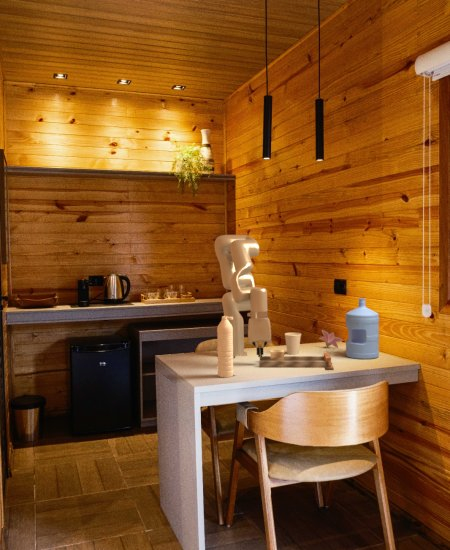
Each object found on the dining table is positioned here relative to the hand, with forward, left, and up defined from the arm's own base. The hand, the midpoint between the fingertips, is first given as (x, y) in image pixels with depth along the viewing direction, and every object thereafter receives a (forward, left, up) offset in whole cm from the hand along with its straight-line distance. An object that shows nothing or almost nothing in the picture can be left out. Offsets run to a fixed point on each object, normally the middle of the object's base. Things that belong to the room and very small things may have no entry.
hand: (260, 356), depth 251 cm
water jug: (+49, +25, -5) cm, 55 cm away
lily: (+36, +47, -5) cm, 59 cm away
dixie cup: (+16, +32, -5) cm, 36 cm away
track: (+16, +1, -5) cm, 16 cm away
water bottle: (-13, -19, -5) cm, 24 cm away
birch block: (+8, +1, -4) cm, 8 cm away
